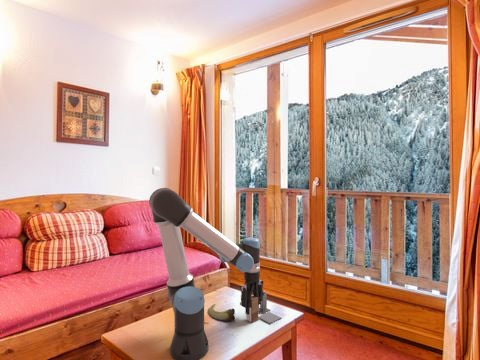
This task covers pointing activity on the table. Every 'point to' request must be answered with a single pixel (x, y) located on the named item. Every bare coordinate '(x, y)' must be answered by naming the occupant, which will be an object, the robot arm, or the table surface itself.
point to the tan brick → (253, 308)
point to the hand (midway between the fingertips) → (252, 318)
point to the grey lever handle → (262, 303)
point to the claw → (222, 314)
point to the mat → (269, 317)
